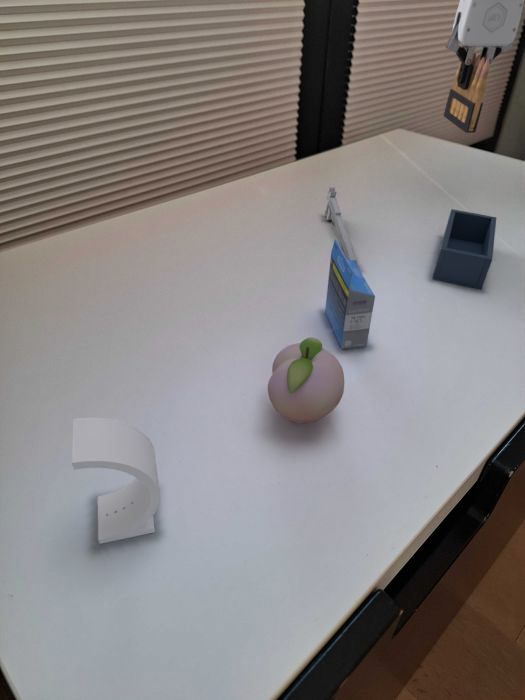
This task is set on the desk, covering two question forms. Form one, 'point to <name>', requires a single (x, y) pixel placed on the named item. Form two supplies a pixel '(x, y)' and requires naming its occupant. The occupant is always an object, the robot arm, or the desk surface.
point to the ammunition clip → (468, 97)
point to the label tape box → (348, 301)
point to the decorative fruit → (305, 382)
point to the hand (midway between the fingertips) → (468, 87)
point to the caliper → (338, 223)
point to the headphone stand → (124, 455)
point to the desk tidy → (466, 249)
